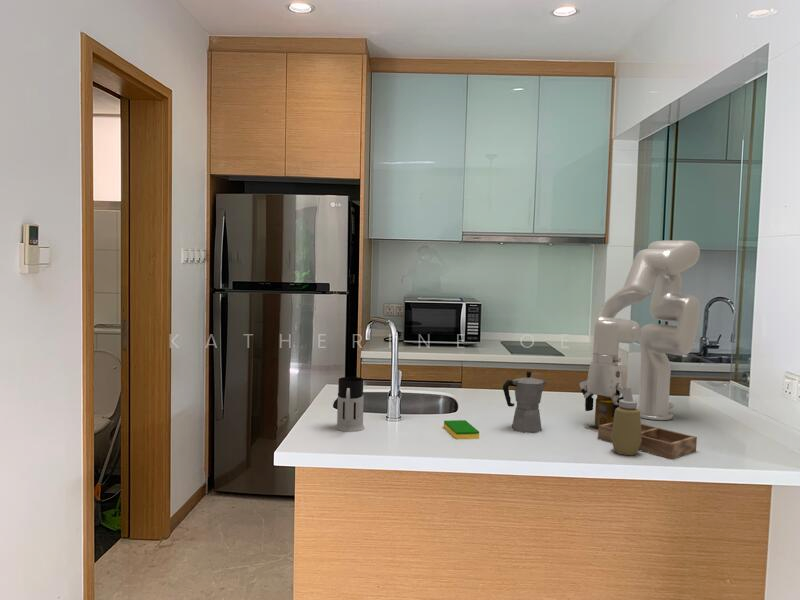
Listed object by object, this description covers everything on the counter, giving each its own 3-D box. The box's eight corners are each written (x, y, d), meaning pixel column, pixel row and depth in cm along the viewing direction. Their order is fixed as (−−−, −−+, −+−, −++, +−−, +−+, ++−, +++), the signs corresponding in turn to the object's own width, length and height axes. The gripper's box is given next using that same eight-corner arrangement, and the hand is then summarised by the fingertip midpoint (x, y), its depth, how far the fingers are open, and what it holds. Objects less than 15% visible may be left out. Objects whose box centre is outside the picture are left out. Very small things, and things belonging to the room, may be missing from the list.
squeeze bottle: (605, 448, 182) (608, 384, 180) (633, 448, 182) (636, 385, 181) (617, 457, 174) (620, 390, 172) (646, 457, 174) (649, 391, 173)
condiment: (620, 429, 203) (622, 391, 202) (602, 433, 198) (604, 394, 197) (601, 424, 209) (603, 387, 208) (584, 427, 204) (585, 390, 203)
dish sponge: (455, 440, 187) (456, 432, 187) (443, 428, 201) (443, 420, 201) (479, 439, 189) (479, 431, 188) (465, 427, 202) (465, 419, 202)
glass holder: (365, 424, 201) (366, 376, 200) (361, 437, 187) (362, 386, 186) (337, 423, 201) (338, 376, 200) (331, 436, 187) (332, 385, 186)
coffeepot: (536, 423, 207) (539, 368, 206) (553, 431, 198) (555, 373, 197) (494, 427, 202) (496, 369, 201) (509, 435, 193) (511, 375, 192)
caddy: (623, 432, 199) (623, 419, 199) (696, 451, 181) (696, 437, 181) (597, 438, 191) (598, 425, 191) (671, 459, 173) (672, 444, 173)
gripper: (636, 362, 197) (633, 418, 198) (589, 355, 211) (586, 407, 212) (622, 364, 193) (619, 421, 193) (574, 356, 206) (571, 409, 207)
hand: (602, 413), depth 203 cm, fingers open, 9 cm apart
